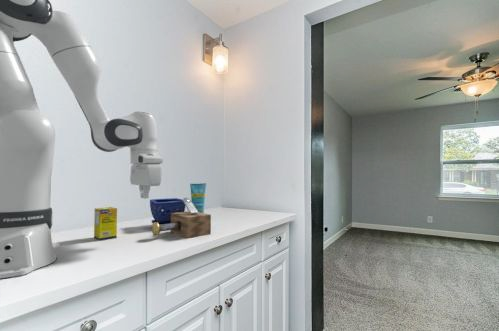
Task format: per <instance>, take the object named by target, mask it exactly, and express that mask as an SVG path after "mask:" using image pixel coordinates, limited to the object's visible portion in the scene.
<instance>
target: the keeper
mask: <svg viewBox="0 0 499 331" xmlns="http://www.w3.org/2000/svg"><path fill="white" fill-rule="evenodd" d="M182 200H183V203H184V204H185V208H186V209H187V210H188V211H189V212H190V214H198V211H197V209H196V208H195V206H194V205H193V203H192V201H191V198H189V197H184V198H182Z"/></svg>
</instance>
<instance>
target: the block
mask: <svg viewBox="0 0 499 331" xmlns="http://www.w3.org/2000/svg"><path fill="white" fill-rule="evenodd" d="M211 220H212V215H211V213H210V214H209V213H205V212H204V213H200V212H198V214H190V212H189V211H184V212H178V213H171V223H177V222H181V228H180V229H174V230H170V233H172V234H175V235H177V236H180V237H183V238H186V239H191V238H196V237H202V236H207V235H208V236H209V235H211V233H212V232H211V228H212V221H211Z"/></svg>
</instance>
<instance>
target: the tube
mask: <svg viewBox="0 0 499 331" xmlns="http://www.w3.org/2000/svg"><path fill="white" fill-rule="evenodd" d="M189 185H190V200H191V201H192V203H193V205H194V206H195V208H196V209H197V211H198V212H200V213H205V199H206V198H205V197H206V190H207V189H206V187H207V183H206V182H202V183H201V182H200V183H190V184H189Z"/></svg>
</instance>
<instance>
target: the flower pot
mask: <svg viewBox="0 0 499 331" xmlns="http://www.w3.org/2000/svg"><path fill="white" fill-rule="evenodd" d="M149 208H150V213H151V215H152V217H153V220H151V223H152V224H153V223H155V222H158V223H159V225H163V224H170V223H171V213H178V212H186V210H185V209H186V206H185V204H184V203H183V198H182V199H181V198H177V197H175V198H174V197H171V198H155V199H154V198H153V199H150V200H149Z"/></svg>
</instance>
